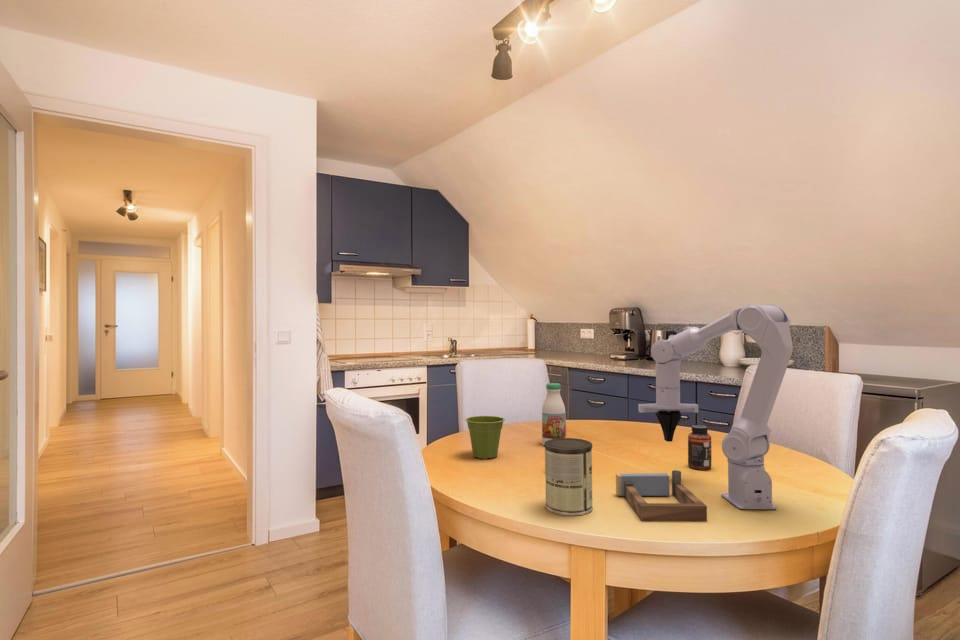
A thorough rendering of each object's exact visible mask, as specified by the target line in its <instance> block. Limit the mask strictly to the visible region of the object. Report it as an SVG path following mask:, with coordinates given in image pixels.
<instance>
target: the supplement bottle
mask: <svg viewBox="0 0 960 640" xmlns="http://www.w3.org/2000/svg"><path fill="white" fill-rule="evenodd" d="M687 463H688V467H689V468H691V469H693V470H698V471H699V470H701V471H704V470H705V471H707V470H710V469H711V468H712V436H711V435H710V434H709V433H708V426H706V425H702V424H700V425H699V424H696V425H694V424H693V425H691V432H690V433H688V435H687Z"/></svg>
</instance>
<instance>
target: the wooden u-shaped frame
mask: <svg viewBox="0 0 960 640" xmlns="http://www.w3.org/2000/svg"><path fill="white" fill-rule="evenodd" d="M624 495H625V496H624V498H625V500H626V501H627V502H628V505H630V507H631V508H632V509H633V511H634V512H635V514H636V515H637V517H638V518H639V519H640V520H641V521H642V522H650V521H651V522H708V510H707V509H708V506H707V504H705V503H704V502H703V501H702V500H701V499H699V498H698V497H697V496H696V495H695V494H694V493H693V492H691V491H690V490H689V489H688V488H687V487H686V486H685V485H684V484H682V471H680V470H677V469H676V470H675V469H674V470H672V471H671V496H672V497H675V499H676V500H677V501H679V502H678V503H673V502H672V503H671V502H670V503H661V502H659V503H658V502H653V503H650V502H647V501H646V499H644V497H643V496H641V495H640V494H639V493H638V491H637V490H636V489H635V488H634V487H633V483H632V482H624Z"/></svg>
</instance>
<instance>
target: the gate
mask: <svg viewBox="0 0 960 640" xmlns="http://www.w3.org/2000/svg"><path fill="white" fill-rule="evenodd" d="M624 482H632V483H633V487H634V488H635V489H636V490H637V491H638V493H639V494H640V495H641V496H642V497H643V496H648V497H649V496H650V497H651V496H657V497H659V496H667V497H668V496H670V494H671V493H670V492H671V491H670V475H669V474H668V473H667V472H666V473H661V472H660V473H659V472H658V473H657V472H656V473H654V472H653V473H615V494H616V495H617V496H619V497H621V496H622V497H625V495H624Z"/></svg>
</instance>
